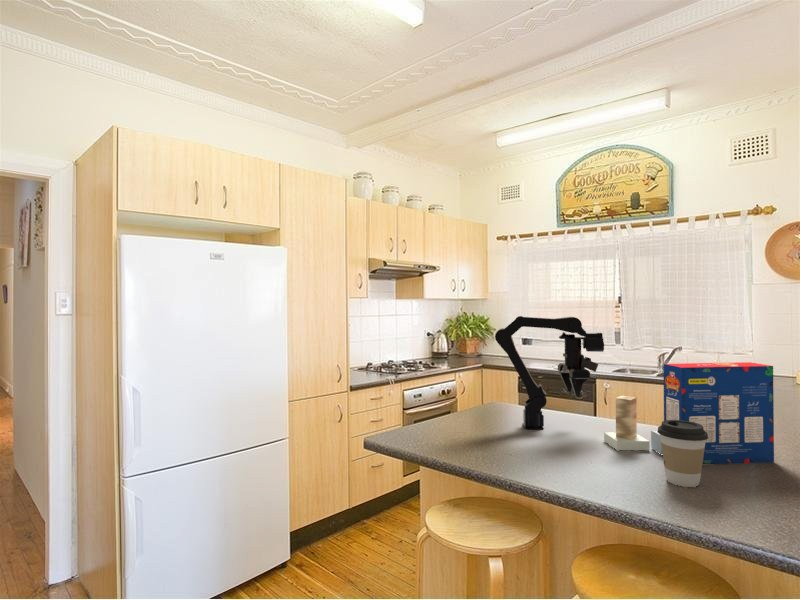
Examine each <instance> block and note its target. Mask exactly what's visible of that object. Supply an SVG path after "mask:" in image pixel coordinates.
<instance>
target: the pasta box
mask: <svg viewBox="0 0 800 600" xmlns="http://www.w3.org/2000/svg"><path fill="white" fill-rule="evenodd" d="M774 402H775V401H774V366H773V365H770V364H763V363H757V362H756V363H755V362H751V361H750V362H749V361H748V362H746V361H745V362H744V361H743V362H742V361H741V362H698V363H697V362H695V363H694V362H693V363H689V362H688V363H685V362H684V363H663V421H665V420H683V421H690V422H694V423H698V424H700V425H702V426H703V428H704V431H706V432H707V434H708V439H707V440H706V442H705V449H704V456H703V464H713V465H735V464H738V465H739V464H760V463H761V464H762V463H765V464H766V463H767V464H768V463H775V430H774V429H775V425H774V424H775V421H774V420H775V418H774V417H775V413H774V410H775V408H774V407H775V406H774Z"/></svg>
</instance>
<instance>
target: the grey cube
mask: <svg viewBox="0 0 800 600" xmlns="http://www.w3.org/2000/svg"><path fill="white" fill-rule="evenodd" d="M657 431H658V430H651V431H650V449H651V448H652V449H654V450H655V451H657V452H659V453H660V454H663V453H662V446H661V440H660V434H659V433H658V432H657ZM652 449H651V450H652ZM655 451H654V452H655ZM657 452H656V453H657ZM660 454H659V455H660Z"/></svg>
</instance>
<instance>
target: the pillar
mask: <svg viewBox="0 0 800 600" xmlns="http://www.w3.org/2000/svg"><path fill="white" fill-rule="evenodd" d="M637 410H638V409H637V396H636V397H635V396H628V395H626V396H625V395H620V396H617V397H615V432H616V437H620V438H625V439H630V440H631V439H633V438H634V437H636V436H637V434H638V433H637V432H638V429H637V428H638V427H637V425H638V424H637V423H638V422H637V420H638V417H637V415H638V413H637Z"/></svg>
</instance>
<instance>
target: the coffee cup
mask: <svg viewBox="0 0 800 600" xmlns="http://www.w3.org/2000/svg"><path fill="white" fill-rule="evenodd" d="M656 431H657V432H658V433H659V434H660V440H661V446H662V453H663V456H662V460H663V465H664V466H663V467H664V472H665V477H666V481H667V480H668V481H669V482H670V483H669V482H668V481H667V482H668V483H669V484H671V483H673V484H672V485H674V484H676V485H675V486H677V485H678V486H677V487H680V486H683V487H682V488H687V487H694V488H697V487H696V486H698V485H699V486H700V483H701V477H702V471H703V470H702V469H703V465H702V464H703V456H704V449H705V442H706V440H707V439H708V434H707V432H706V431H704V428H703V426H702V425H700V424H698V423H694V422H690V421H683V420H665V421H664V420H662V421H661V425H659V426H657V430H656ZM699 486H698V487H699Z"/></svg>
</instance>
